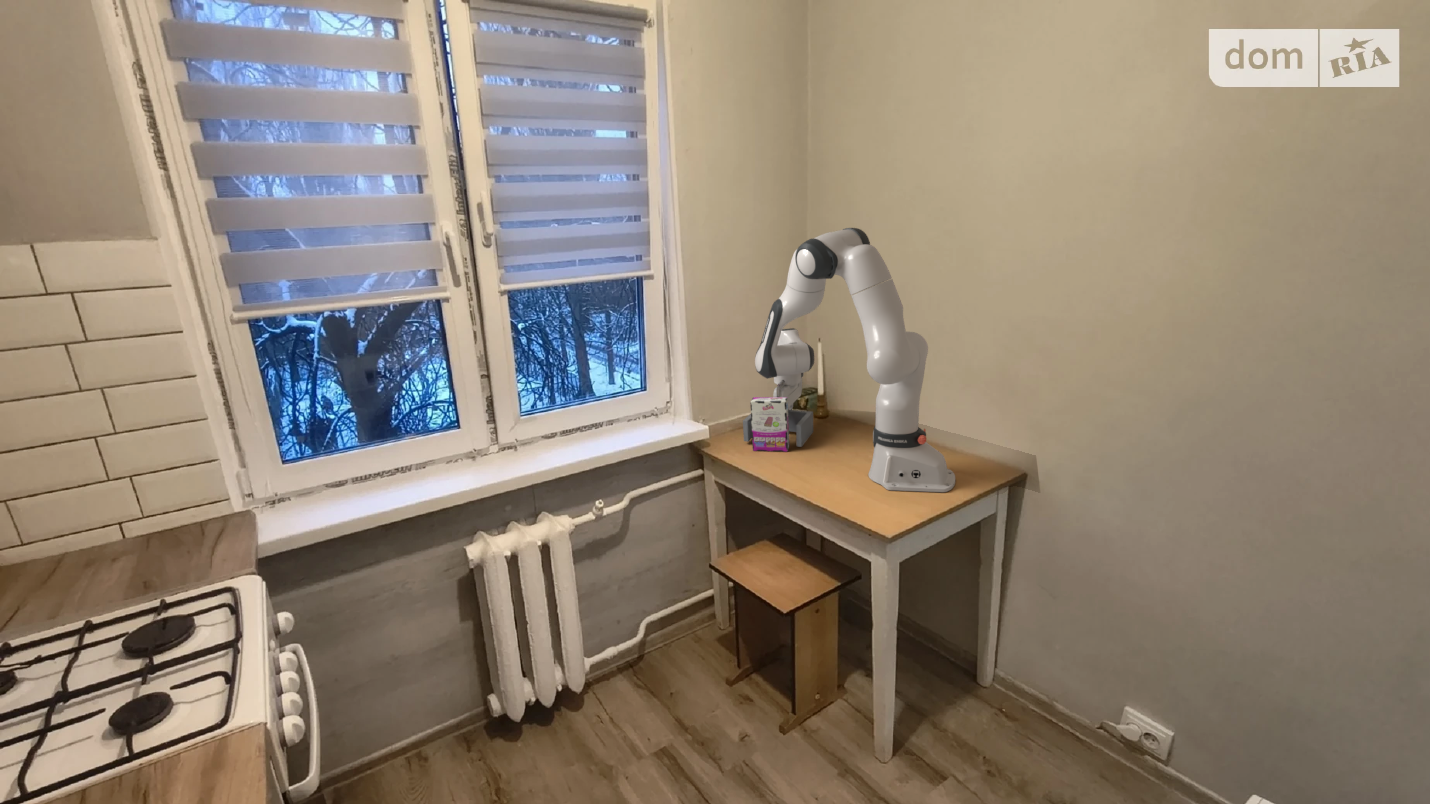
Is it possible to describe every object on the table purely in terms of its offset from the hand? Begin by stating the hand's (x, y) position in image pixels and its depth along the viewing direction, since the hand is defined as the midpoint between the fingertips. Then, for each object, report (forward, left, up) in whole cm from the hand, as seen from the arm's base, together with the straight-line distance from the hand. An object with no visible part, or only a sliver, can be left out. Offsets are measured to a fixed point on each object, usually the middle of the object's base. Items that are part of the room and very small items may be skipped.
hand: (788, 416), depth 213 cm
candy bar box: (0, +17, -5) cm, 18 cm away
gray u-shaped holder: (0, +9, -5) cm, 11 cm away
